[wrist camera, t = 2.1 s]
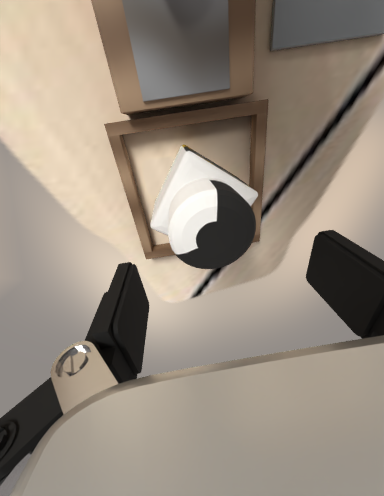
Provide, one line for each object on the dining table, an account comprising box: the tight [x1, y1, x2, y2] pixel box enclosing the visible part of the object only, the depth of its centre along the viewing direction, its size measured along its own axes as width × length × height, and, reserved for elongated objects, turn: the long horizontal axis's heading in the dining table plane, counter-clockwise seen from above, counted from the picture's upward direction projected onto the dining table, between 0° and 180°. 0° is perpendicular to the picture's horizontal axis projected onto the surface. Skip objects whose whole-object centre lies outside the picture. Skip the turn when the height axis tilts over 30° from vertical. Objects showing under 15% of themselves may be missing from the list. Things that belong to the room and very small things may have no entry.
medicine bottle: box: [150, 145, 258, 269], centre depth 18 cm, size 7×7×12 cm
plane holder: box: [91, 0, 268, 259], centre depth 18 cm, size 26×15×6 cm, turn 7°
